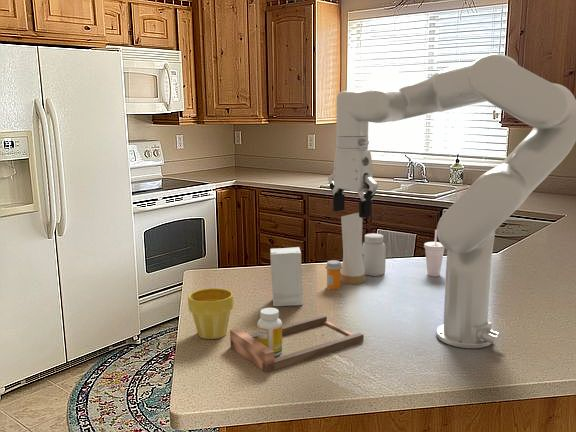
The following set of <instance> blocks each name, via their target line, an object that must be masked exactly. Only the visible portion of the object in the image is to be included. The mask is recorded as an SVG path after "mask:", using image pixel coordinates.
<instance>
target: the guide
mask: <svg viewBox="0 0 576 432" xmlns="http://www.w3.org/2000/svg"><path fill="white" fill-rule="evenodd" d="M327 317H328V316H326V315H324V314H320V315H317V316H314V317H310V318H307V319H303V320H302V319H301V320H299V321H296V322H292V323H288V324H285V325H282V336H286V335H289V334H293V333H296V332H299V331H302V330H306V329H310V328H314V327H317V326H320V325H323V324H325V325H327V326H328V327H330V328H332V329H334V330H336V331H338V332H339V333H343V334H344V335H346V336H344V337H340V338H337V339H333V340H331V341H327V342H324V343H320V344H318V345H314V346H311V347H308V348H304V349H301V350H298V351H295V352H291V353H288V354H285V355H282V356H279V357H274V351H273V350H271V349H270V348H268V347H267V346H265V345H264V344H262V343H260V342H259V341H258V340H257V332H255V333H252V334H251V333H250V334H249V333H246V332H245V331H243V330H242V329H241V328H238V327H236V328H232V329H229V334H230V335H229V336H230V337H229V339H230V340H229V341H230V342H229V343H230V348H231V349H233V350H234V351H235V352H237V353H238V354H240V355H241V356H243V357H244V358H245V359H247V360H248V361H250V362H251V363H253V364H254V365H255V366H257V367H258V368H259V369H261V370H262V371H264V372H265V373H269V372H272V371H276V370H277V369H283V368H285V367H287V366H291V365H293V364H297V363H300V362H303V361H306V360H308V359H313V358H315V357H319V356H321V355H324V354H327V353H331V352H334V351H337V350H341V349H343V348H347V347H350V346H353V345H355V344H358V343H363V342H364V337H365V336H364V334H363V333H361V332H356V333H352V332H350V331H348V330H346V329H344V328H342V327H340V326H338V325H336V324H334V323H332V322H330V321H328V320H327V319H328V318H327Z"/></svg>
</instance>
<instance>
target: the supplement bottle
mask: <svg viewBox="0 0 576 432" xmlns="http://www.w3.org/2000/svg"><path fill="white" fill-rule="evenodd" d="M259 311H260V312H259V315H260V318H259V319H258V321H257V323H256V324H257V326H256V327H257V329H256V330H257V331H256V333H257V340H258V341H259V342H260V343H262V344H264V345H265V346H267V347H268V348H270V349H271V350H273V351H274V358H276V357H277V356H279V355H281V354H282V353H283V335H282V326H283V322H282V320H281V318H279V317H280V311H279V309H277V308H275V307H265V308H262V309H260V310H259Z"/></svg>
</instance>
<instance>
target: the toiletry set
mask: <svg viewBox="0 0 576 432" xmlns="http://www.w3.org/2000/svg"><path fill="white" fill-rule="evenodd" d="M363 218H364V217H363ZM363 218H361V217H359V212H355V213H351V214H346V215H341V217H340V221H341V223H340V224H341V236H342V238H341V239H342V251H343V252H342V253H343V254H342V255H343V256H342V264H341V261H340V260H335V259H332V260H328V261H327V263H326V264H325V267H324V268H325V269H326V286H327V287H326V288H327V289H328V290H332V291H333V290H339V289H341V283H343V284H346V283H347V284H346V285H360V284H359V283H361V284H363V283H364V282H365V281H366V276H368V275H369V277H379V276H382V275H385V273H386V260H387V258H386V257H387V256H386V255H387V254H386V252H387V251H386V250H387V249H386V244H385V243H384V235H383V234H380V233H366V234H365V235H364V241H363Z"/></svg>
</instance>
